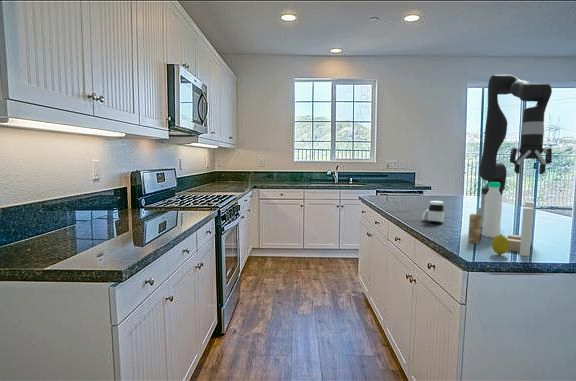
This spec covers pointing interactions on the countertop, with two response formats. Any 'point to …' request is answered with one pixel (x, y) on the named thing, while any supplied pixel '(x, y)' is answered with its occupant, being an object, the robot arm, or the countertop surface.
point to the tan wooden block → (475, 228)
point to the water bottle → (492, 211)
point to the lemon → (500, 244)
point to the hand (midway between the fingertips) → (529, 173)
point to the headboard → (523, 232)
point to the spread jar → (434, 213)
